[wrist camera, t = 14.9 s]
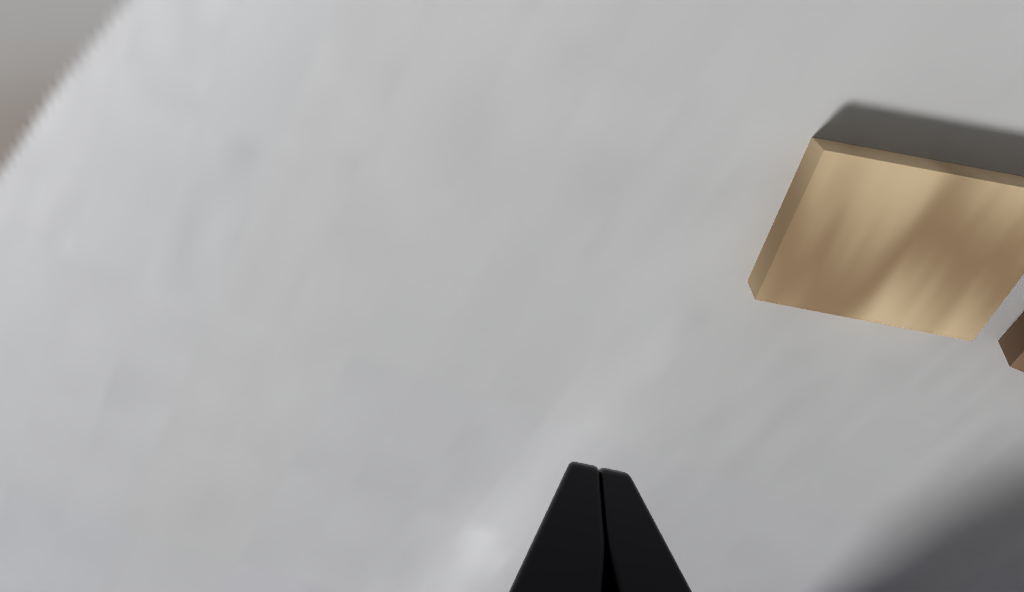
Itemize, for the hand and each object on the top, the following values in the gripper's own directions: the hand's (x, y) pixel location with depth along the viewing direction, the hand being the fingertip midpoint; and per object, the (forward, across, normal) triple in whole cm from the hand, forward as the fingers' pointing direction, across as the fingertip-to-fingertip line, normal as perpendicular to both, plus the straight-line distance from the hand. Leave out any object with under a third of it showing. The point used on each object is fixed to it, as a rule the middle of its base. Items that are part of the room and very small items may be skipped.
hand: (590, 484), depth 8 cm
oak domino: (+12, -6, 0) cm, 13 cm away
